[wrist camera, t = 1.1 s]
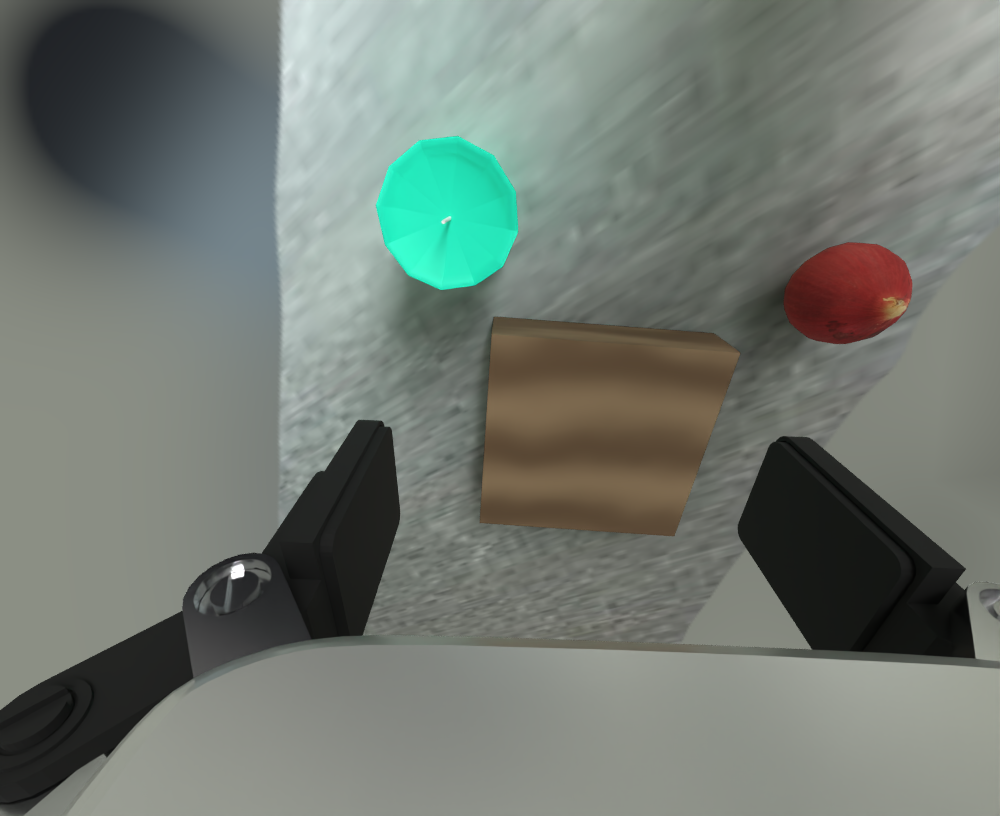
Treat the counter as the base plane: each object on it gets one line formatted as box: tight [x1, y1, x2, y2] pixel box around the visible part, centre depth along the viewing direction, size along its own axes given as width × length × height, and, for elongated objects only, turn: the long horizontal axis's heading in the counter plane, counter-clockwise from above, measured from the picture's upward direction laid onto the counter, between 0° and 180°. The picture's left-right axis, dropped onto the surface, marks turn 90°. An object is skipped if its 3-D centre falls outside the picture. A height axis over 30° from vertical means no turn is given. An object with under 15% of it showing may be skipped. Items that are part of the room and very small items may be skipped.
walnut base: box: [480, 317, 740, 536], centre depth 32 cm, size 16×16×4 cm
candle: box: [376, 136, 518, 290], centre depth 22 cm, size 6×6×12 cm
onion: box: [784, 242, 912, 344], centre depth 25 cm, size 6×6×8 cm
